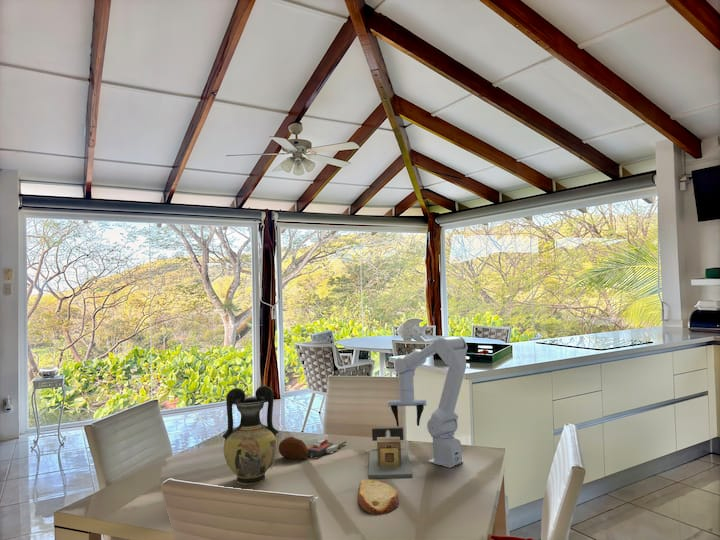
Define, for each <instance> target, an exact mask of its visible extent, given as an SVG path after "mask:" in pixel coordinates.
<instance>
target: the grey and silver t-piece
mask: <svg viewBox="0 0 720 540" xmlns="http://www.w3.org/2000/svg"><path fill="white" fill-rule="evenodd" d="M371 437H372V440H371V441H374V442H377V437H400V441H404V427H403V426H402V427H399V426H396V427H371ZM385 447H392V446H385Z"/></svg>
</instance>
